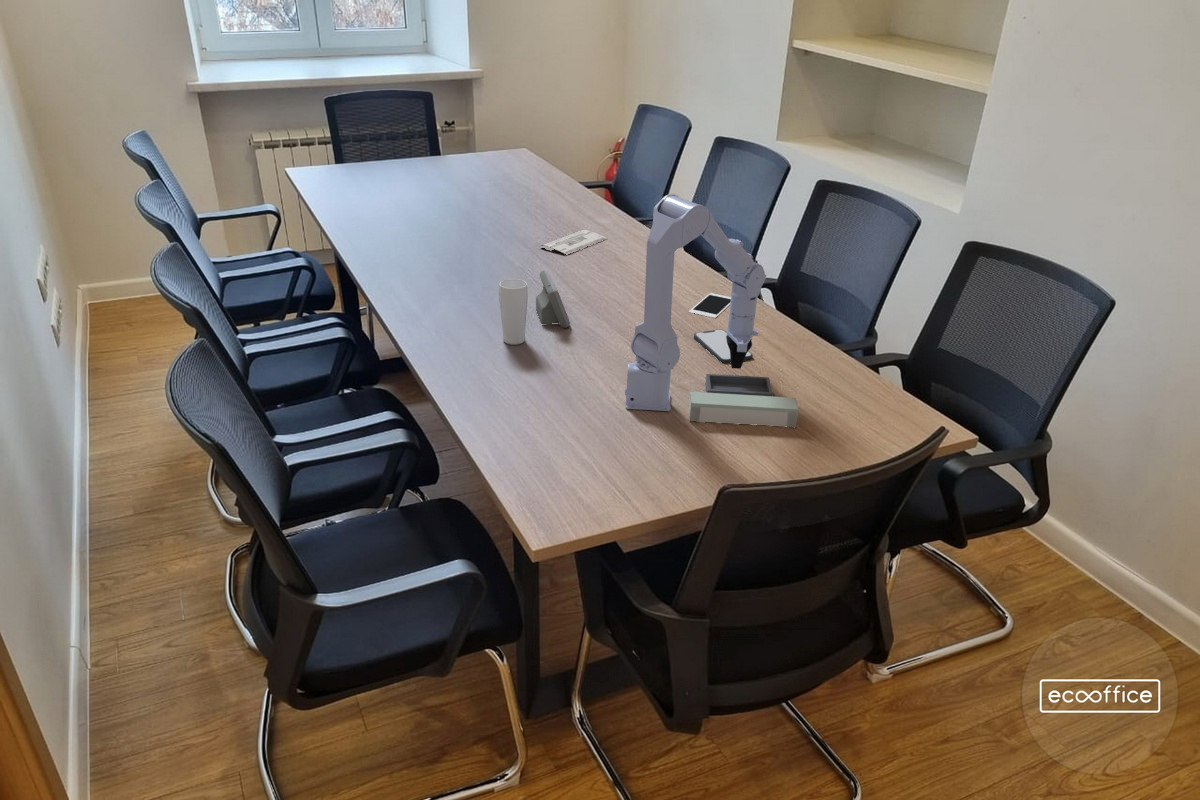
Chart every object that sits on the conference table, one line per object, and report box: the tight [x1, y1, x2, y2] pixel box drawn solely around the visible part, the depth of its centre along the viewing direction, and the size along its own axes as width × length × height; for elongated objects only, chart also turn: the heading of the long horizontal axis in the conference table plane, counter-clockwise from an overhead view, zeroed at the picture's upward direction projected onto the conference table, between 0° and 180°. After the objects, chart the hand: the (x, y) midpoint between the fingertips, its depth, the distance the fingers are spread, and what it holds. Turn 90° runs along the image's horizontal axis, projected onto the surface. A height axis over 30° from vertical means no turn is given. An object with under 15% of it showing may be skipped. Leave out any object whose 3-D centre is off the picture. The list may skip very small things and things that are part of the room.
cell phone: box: [688, 292, 731, 319], centre depth 238 cm, size 8×16×1 cm, turn 152°
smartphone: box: [693, 329, 754, 364], centre depth 214 cm, size 9×2×16 cm
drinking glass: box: [498, 278, 529, 346], centre depth 210 cm, size 7×7×15 cm
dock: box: [688, 391, 800, 428], centre depth 183 cm, size 22×6×4 cm, turn 86°
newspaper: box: [540, 229, 608, 255], centre depth 280 cm, size 23×12×2 cm, turn 144°
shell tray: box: [704, 373, 774, 397], centre depth 192 cm, size 14×8×3 cm, turn 86°
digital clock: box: [535, 270, 571, 329], centre depth 225 cm, size 16×9×11 cm, turn 1°
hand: (735, 367), depth 200 cm, fingers closed
